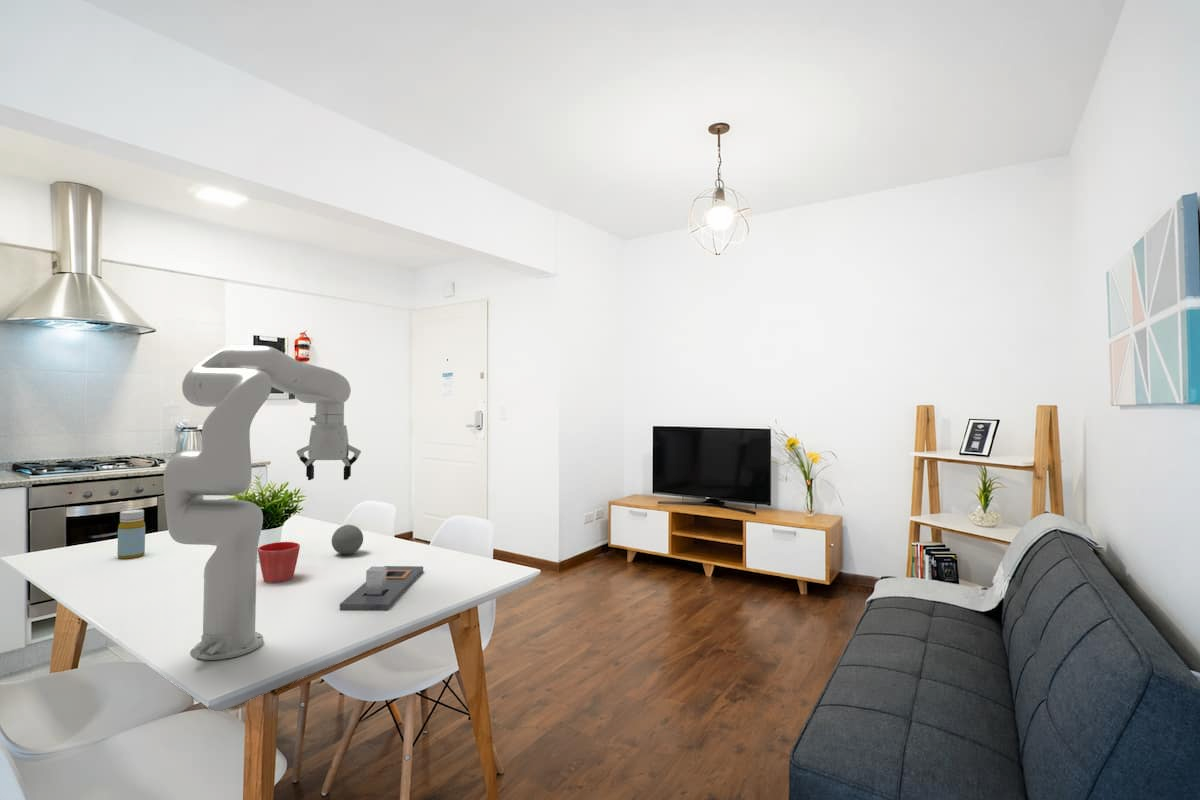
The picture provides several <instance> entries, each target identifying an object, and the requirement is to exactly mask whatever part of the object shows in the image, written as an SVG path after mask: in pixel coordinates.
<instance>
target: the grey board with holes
mask: <svg viewBox="0 0 1200 800" xmlns="http://www.w3.org/2000/svg"><path fill="white" fill-rule="evenodd" d="M383 567H386V594H385V595H384V596H366V581H365V582H364V583H363V584H362V585H360V587H358V588H357V589H355V591H354V592H352V593H351V594H350V595H349V596H347V597H346V598H345V599H344V600H343V601H342V602H340V603H339V611H388V610H389V609H390V608H392V606H393V605H394V604H395V603H396V602H397V600H399V599H400V597H401V596H402V595H403V594H404V593H405V592H406V591H407V590H408V589H409V588H410V586H411V585H412V584H413V583H414V582H415V581H416V580H417V579H418V578H419V576H420V575H421V574H422V573H423V572H424V566H423V565H422V566H421V565H420V566H418V565H417V566H416V565H415V566H414V565H413V566H411V565H408V566H407V565H404V566H403V565H384V566H383Z"/></svg>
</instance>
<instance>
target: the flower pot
mask: <svg viewBox="0 0 1200 800" xmlns="http://www.w3.org/2000/svg"><path fill="white" fill-rule="evenodd" d="M300 548H301V544H300V543H299V542H295V541H280V542H279V541H277V542H270V543H266V544H263V545H261V546H258V550H257V556H258V560H259V565H260V570H261V574H262V579H263V581H264V582H265V581H266V582H265V583H269V582H275V583H280V582H279V581H281V582H286V581H285V580H287V581H290V580H291V578H292V579H293V578H294V577H295V571H296V567H297V563H298V558H299V554H300V550H301V549H300ZM289 579H290V580H289Z"/></svg>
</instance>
